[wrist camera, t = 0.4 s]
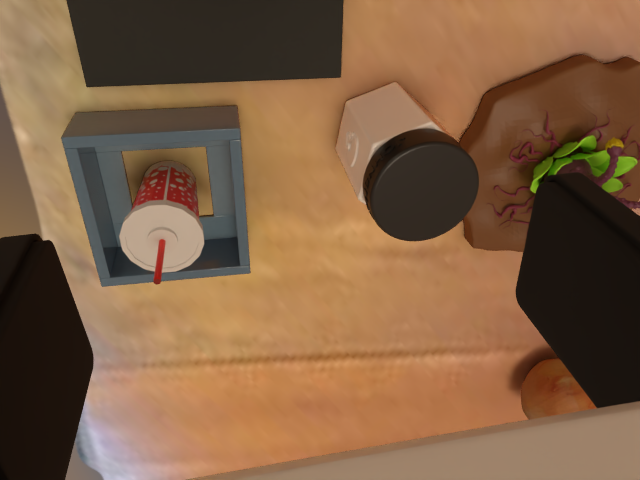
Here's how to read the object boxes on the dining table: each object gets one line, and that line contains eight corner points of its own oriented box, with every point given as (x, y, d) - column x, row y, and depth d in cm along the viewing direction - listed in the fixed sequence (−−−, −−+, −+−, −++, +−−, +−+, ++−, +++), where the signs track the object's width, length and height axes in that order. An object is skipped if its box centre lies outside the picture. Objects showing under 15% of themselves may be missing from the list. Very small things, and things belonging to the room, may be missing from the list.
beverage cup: (132, 210, 48) (107, 313, 37) (134, 147, 45) (109, 239, 34) (201, 217, 50) (199, 318, 38) (208, 157, 47) (208, 248, 35)
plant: (450, 79, 46) (509, 129, 37) (662, 36, 48) (770, 75, 38) (450, 261, 58) (495, 332, 49) (621, 223, 59) (696, 286, 50)
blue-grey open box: (75, 112, 43) (60, 137, 39) (237, 105, 44) (240, 128, 40) (110, 253, 50) (101, 287, 46) (247, 242, 52) (250, 273, 48)
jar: (348, 74, 45) (388, 129, 35) (438, 87, 47) (499, 143, 37) (327, 170, 49) (356, 243, 39) (409, 179, 51) (456, 250, 41)
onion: (591, 362, 72) (639, 424, 64) (530, 403, 75) (569, 468, 67) (556, 330, 67) (604, 393, 59) (493, 376, 70) (531, 442, 62)
